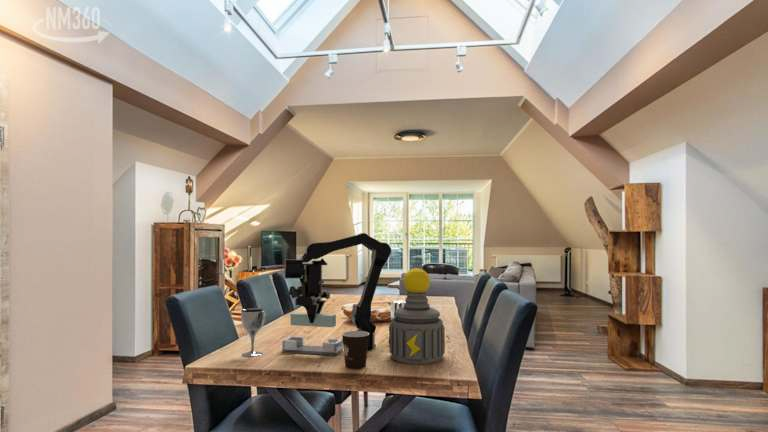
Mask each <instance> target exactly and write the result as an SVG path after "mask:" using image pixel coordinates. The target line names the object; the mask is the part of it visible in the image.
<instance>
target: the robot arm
mask: <svg viewBox="0 0 768 432" xmlns="http://www.w3.org/2000/svg"><path fill="white" fill-rule="evenodd" d="M359 245H362V246H364V247H365V248H367V250H370V251H371V254H370V267H369V271H368V272H367V273H368V274H367V277H366V280H365V284H364V286H363V289H362V293H361V296H360V299H359V301H358V303H357V304H355V303H353V305H352V309H351V312H350V313H349V315H350V320H351V321H352V322H351V323H353V324H354V326H356V329H357V330H356V331H364V332H368V333H369V342H368V350H367V351H373V349H374V348H375V347H377V344H376V343H375V342H376V341H375V340H376V339H375V338H376V336H375V334H376V333H375V332H376V328H377V326H376V325H375V324H374V323H373V322H372V321H371V318H372V303H373V299H374V295H375V293H376V289H377V287H378V283H379V279H380V276H381V272H382V269H383V267H384V266H385V264H386V263H387V261H388V260H389V258H390V256H391V255H392V254H391V253H392V248H391V246H390V245H389V243H387V242H381V241H379V240H378V239H376V238H373V237H372V236H370V235H368V234H367V232H366V233H365V232H362V233H361V232H359V233H358V234H356V235H355V234H354V235H351V236H347V237H343V238H339V239H335V240H331V241H323V242H322V241H321V242H311V243H309V244H307V245H306V247H305V249H304V254H302V256H301V258H299V259H287V258H285V259H284V260H285V261H284V262H285V263H284V269H283V271H284V274H283V275H284V279H285V280H288V279H301V278H302V277H303V276H304V275H305V280H304V281H303V282H302V285H300V286H298V287H297V285H292V286H290V287H289V290H288V295H289V296H290V297H291V299H292V300H293V299H295V300H294V301H295V304H294V305H295V306H301V307H303V308H304V309H305V311H306V313H307V314H308V318H309V321H310V323H313V322H314V319H315V316H316V313H318V314H321V312H322V310H323V308H324V305H325V304H326V302H327V300H328V299H330V298H331V293H330V292H329V290H323V287H322V286H323V284H324V283H325V282H324V280H323V270H322V269H323V266H328V263H327V262H326V261H325V259H324V258H322V257H324V256H326V255H327V256H328V255H329V254H330V253H333V252H337V251H339V250H344V249H348V248H351V247H356V246H359ZM318 259H319V260H318ZM310 261H311V262H310ZM323 299H326V300H323Z"/></svg>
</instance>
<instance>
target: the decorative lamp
mask: <svg viewBox="0 0 768 432" xmlns="http://www.w3.org/2000/svg"><path fill="white" fill-rule="evenodd" d="M403 285H404V289H405V290H406V291H407V293H406V296H407V297H405V300H404V301H406V303H405V304H404V307H401V308H399V309H397V310H395V311H394V316H395V317H394V318H392V319H391V318H390V320H391V322H390V324H389V326H388V335H389V336H388V346H389V354H391V355H390V356H391V358H392V359H393V360H394V361H397V362H399V363H403V364H409V365H430V364H434V363H437V362H438V363H439V362H440V361H441V360H442V359H443V356H444V355H445V354H446V353H445V352H446V336H445V335H446V332H445V331H446V328H445V325H444V324H443V323H444V321H443V320H442V319H441V318H439V317H440V316H441V313H440V311H439V310H438V309H436V308H434V307H431V306H430V304H429V303H428V302H429V299H428V297H427V296H428V294H427V291H428V290H429V288H430V286H431V279H430V277H429V274H428V273H427V271H425V270H424V269H422V268H418V267H417V268H416V267H415V268H412V269H409V270H408V271H407V272H406V273H405V275H404V277H403Z"/></svg>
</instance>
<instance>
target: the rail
mask: <svg viewBox="0 0 768 432" xmlns="http://www.w3.org/2000/svg"><path fill="white" fill-rule="evenodd" d="M290 326H296V327H297V326H299V327H316V328H317V327H319V328H334V327H336V326H337V314H336V313H320V314H318V313H316V316H315V319H314V322H313V323H310V321H309V318H308V314H307V312H292V313H290Z"/></svg>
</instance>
